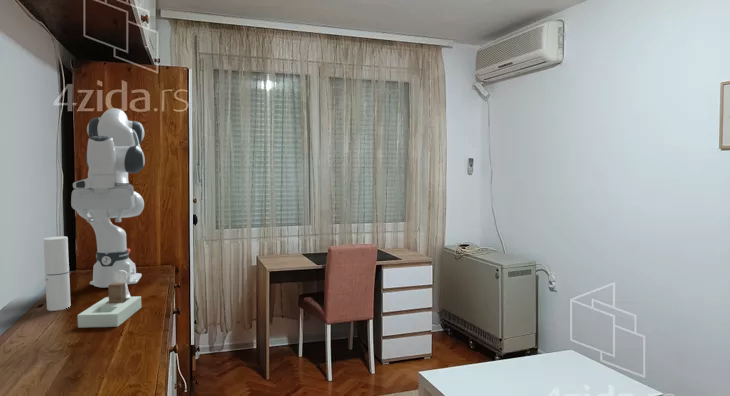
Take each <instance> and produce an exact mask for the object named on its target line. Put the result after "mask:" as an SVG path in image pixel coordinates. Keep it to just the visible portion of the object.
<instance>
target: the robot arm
mask: <svg viewBox="0 0 730 396" xmlns="http://www.w3.org/2000/svg"><path fill="white" fill-rule="evenodd" d="M86 126H87V127H86V132H87V133H86V134H87V135H88V140H87V149H86V152H85V165H86V166H87V168H88V172H87V178H83V179H81V180H77V181H75V182H74V181H73V183H72V188H73V190H71V191H72V192H71V198H70V199H71V201H70V204H71V208H72V209H73V210H75V211H76V213H77V215H79V216H80V217H81V218H83V219H84V220H86V222H87V223H89V224H90V226H91V228H93V232H94V234H95V240H96V249H97V251H96V252H95V253H96V254H95V257H96V258H95V259H96V262H95V263H94V265H92V266H93V269H92V271H93V272H92V280H91V281H90V282H89V285H92V286H94V287H97V288H108V285H110V284H112V283H113V282H116V281H115V278H114V276H115V273H114V272H117V271H119V270H124V271H126V272H127V273H130V272H131V273H130V276H129V277H128V278H127V280H126V281H125V282H126V284H127V286H128V285H134V284H137V283H138V282H139V281H140V279H141V278H142V273H139V272H137V267H136V263H135V262H133V260H131V258H130V254H131V248H128V246H127V244H128V243H127V233H126V230H124V229H123V228H122V227H120V226H118V225H115V224H113V223H112V221H111V219H114V222H115V223H121V222H123V221H122V218H123V219H126V218H133V217H137V216H140V215H141V214H142V212H143V210H144V209H145V201H144V200H145V199H144V198H143V196H142V195H141V194H140V193H138V192H137V191H135V187H134V185H133V184H132V183H130V182H129V174H138V173H139V172H140V171H142V170H143V169H144V167H145V164H146V163H145V162H146V159H145V158H146V157H145V154H144V151H143V149H142V147H141V144H142V142H143V140H144V138H145V129H144V125H143V124H142V123H141V122H139V121H135V120H129V118H128V115H127V114H126V113H125V112H124V110H121V109H120V108H116V107H115V108H109V109H107V110H106V111H104V112H103V113H102V115H101V116H97V117H93V118H92V119H90V120H89V122H88V124H87V125H86Z"/></svg>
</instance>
